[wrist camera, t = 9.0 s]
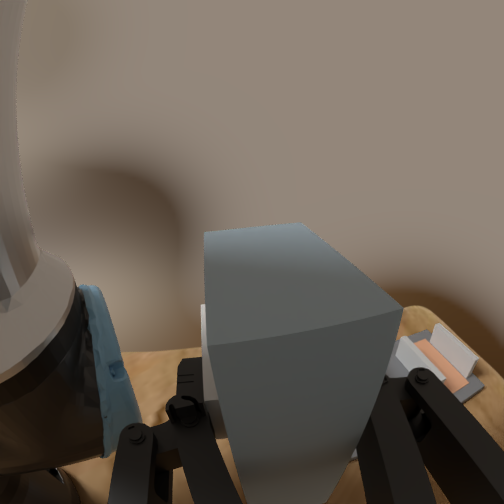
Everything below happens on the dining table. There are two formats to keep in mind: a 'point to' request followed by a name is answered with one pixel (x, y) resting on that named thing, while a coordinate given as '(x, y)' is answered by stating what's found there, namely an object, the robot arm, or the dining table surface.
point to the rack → (436, 361)
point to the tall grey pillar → (293, 356)
